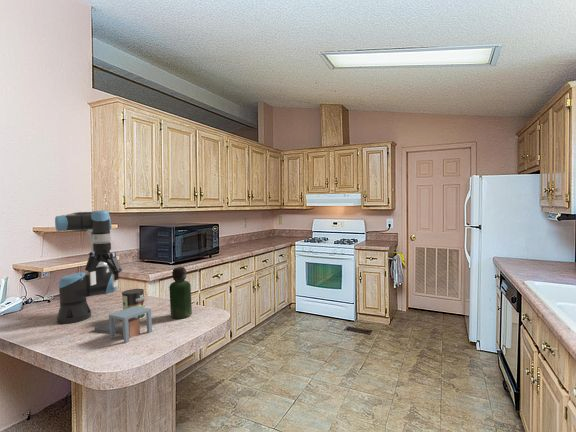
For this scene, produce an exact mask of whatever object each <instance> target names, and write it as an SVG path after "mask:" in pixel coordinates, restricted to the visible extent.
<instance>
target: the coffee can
mask: <svg viewBox="0 0 576 432" xmlns="http://www.w3.org/2000/svg"><path fill="white" fill-rule="evenodd" d="M121 295H122V310H125V309H128V308H131V307H134V306H138V307H143V308H146V307H145V290H144V288H133V289H132V288H131V289H127V290H124V291H122V292H121ZM138 318H139V321H140V320H143V319H145V318H146V313H144V314H141V315H139V316H138Z"/></svg>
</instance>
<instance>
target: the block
mask: <svg viewBox="0 0 576 432" xmlns="http://www.w3.org/2000/svg"><path fill="white" fill-rule="evenodd" d="M140 322H141V321H140V320H139V318H134V317H133V318H130V319H128V325H129V339H131V338H134V337H136V336H138V335H140V334H141V326H140V325H141V323H140ZM121 324H122V329H123V320H121ZM122 337H124V335H123V334H122Z"/></svg>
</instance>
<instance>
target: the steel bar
mask: <svg viewBox="0 0 576 432" xmlns="http://www.w3.org/2000/svg"><path fill="white" fill-rule="evenodd" d="M93 329H94V332H99V333H110V328H109V322H108V323H107V322H106V323H105V322H99V323H97V324H95V325H93ZM115 333H118V334H120V333H121V334H123V329H122V323H115Z"/></svg>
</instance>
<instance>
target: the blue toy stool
mask: <svg viewBox="0 0 576 432" xmlns="http://www.w3.org/2000/svg"><path fill="white" fill-rule="evenodd" d="M144 313H145V319H146V332H147V333H148V334H150V333H152V332H153V325H152V324H153V323H152V322H153V321H152V308H148V307H145V308H143V307H138V306H134V307H131V308H128V309H125V310H123V309H121V310H119V311H116V312H112V313H110V314H108V323H109V328H110V332H109V339H111V340H113V339H116V332H115V324H116V322H115V319H117V320H121V321H123V333H122V336H123V335H124V336H123V342H124V343H128V342H130V338H129V325H128V319H130V318H133V317H134V318H138V316H139V315H141V314H144Z"/></svg>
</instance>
